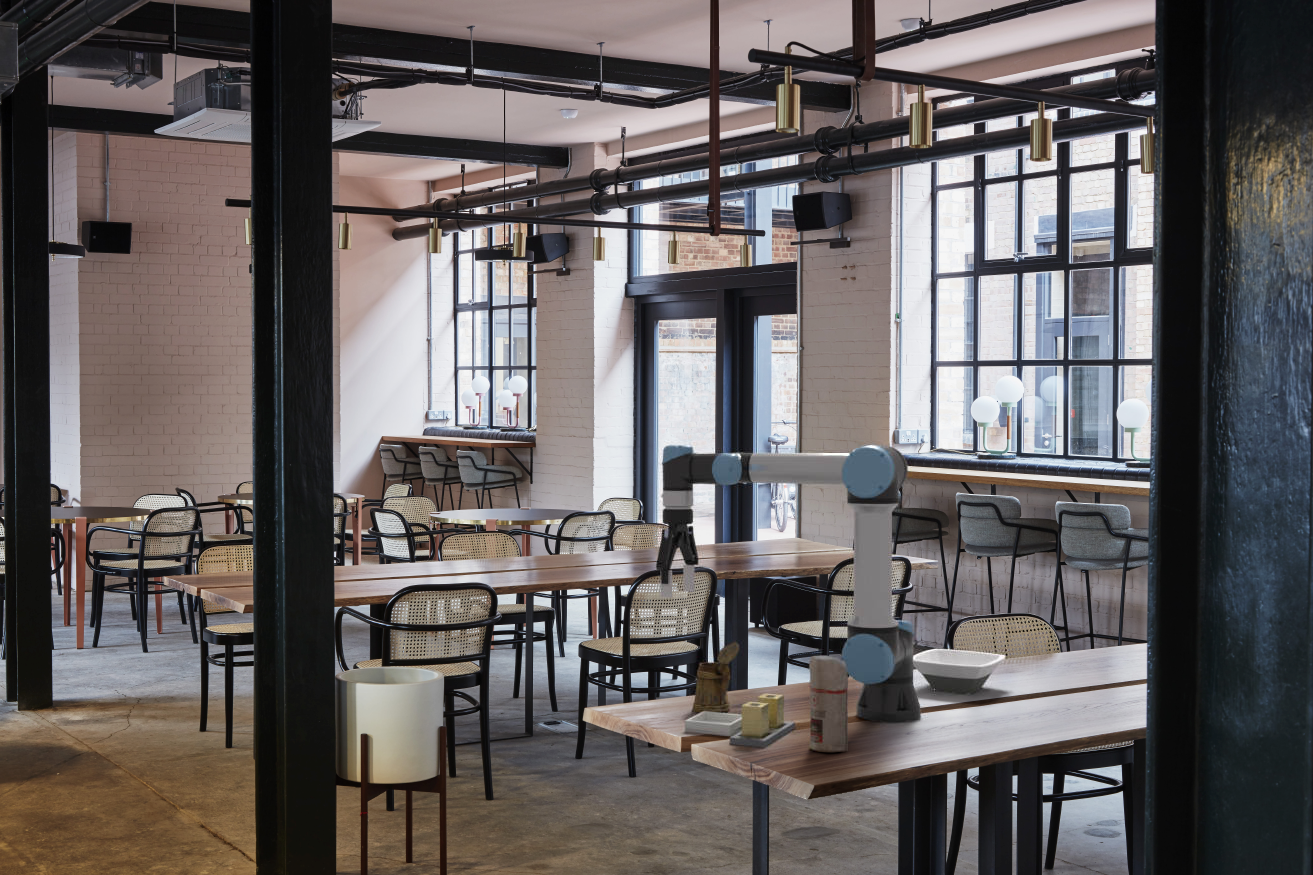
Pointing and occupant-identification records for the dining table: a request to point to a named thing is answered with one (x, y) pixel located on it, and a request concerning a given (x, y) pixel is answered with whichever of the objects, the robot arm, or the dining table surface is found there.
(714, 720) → the tray
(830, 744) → the spray can
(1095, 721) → the dining table surface
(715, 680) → the wooden mug
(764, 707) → the brass nut
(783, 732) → the gray rectangular tray
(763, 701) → the brass nut
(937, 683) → the bowl
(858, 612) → the robot arm
